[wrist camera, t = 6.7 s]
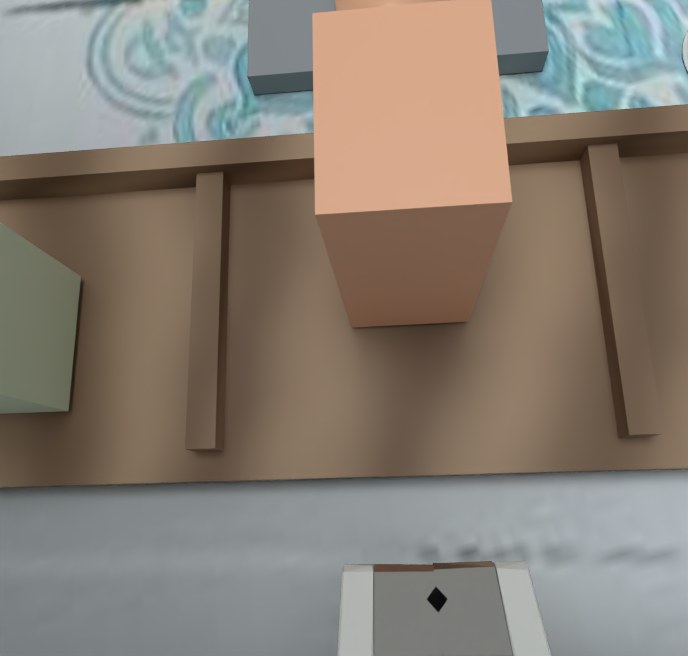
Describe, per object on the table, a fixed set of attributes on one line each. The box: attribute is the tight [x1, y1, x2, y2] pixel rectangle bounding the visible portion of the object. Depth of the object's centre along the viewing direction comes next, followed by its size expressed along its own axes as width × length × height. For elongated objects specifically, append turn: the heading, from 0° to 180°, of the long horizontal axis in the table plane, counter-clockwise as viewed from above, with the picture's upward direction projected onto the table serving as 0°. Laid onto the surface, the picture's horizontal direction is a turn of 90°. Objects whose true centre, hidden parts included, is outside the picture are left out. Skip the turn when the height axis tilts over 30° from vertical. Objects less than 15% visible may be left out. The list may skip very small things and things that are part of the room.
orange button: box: [247, 0, 549, 95], centre depth 26 cm, size 12×6×2 cm, turn 91°
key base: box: [0, 104, 688, 488], centre depth 22 cm, size 34×12×3 cm, turn 91°
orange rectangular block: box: [312, 0, 512, 327], centre depth 18 cm, size 4×5×9 cm
